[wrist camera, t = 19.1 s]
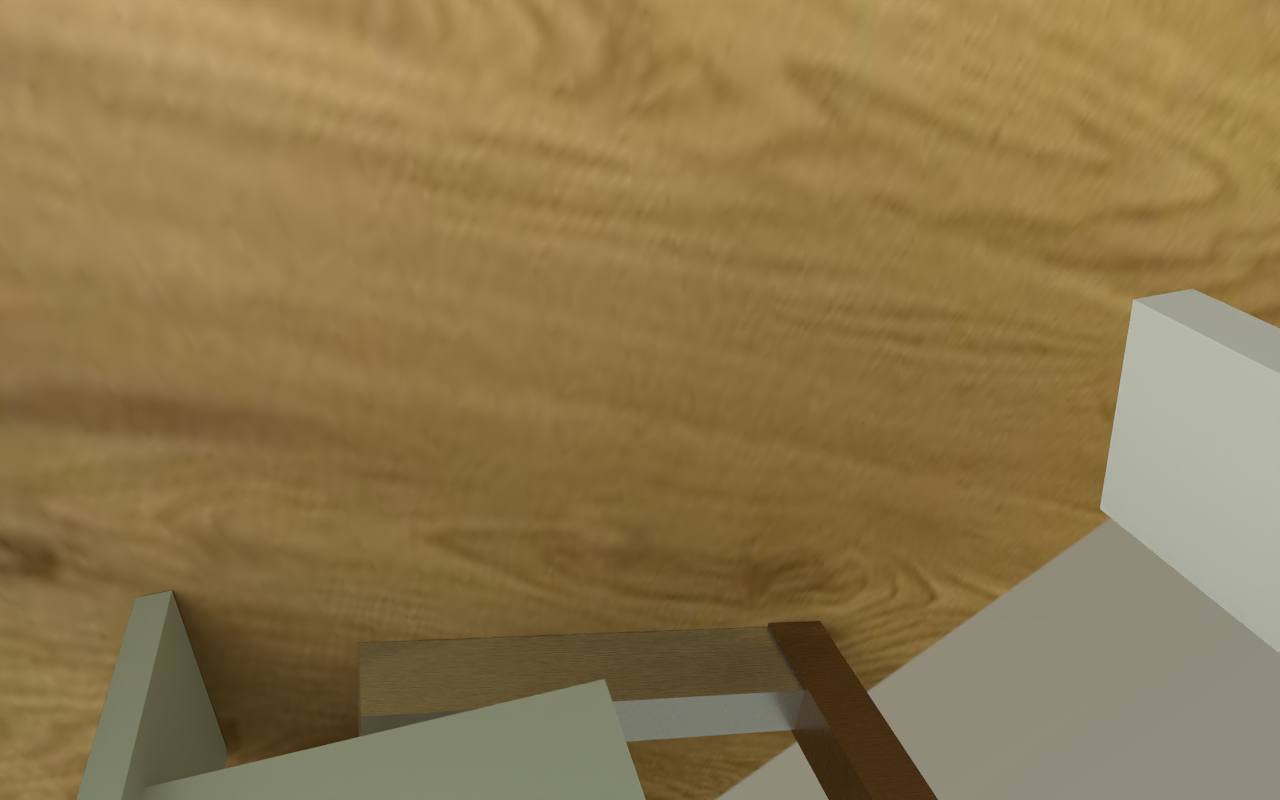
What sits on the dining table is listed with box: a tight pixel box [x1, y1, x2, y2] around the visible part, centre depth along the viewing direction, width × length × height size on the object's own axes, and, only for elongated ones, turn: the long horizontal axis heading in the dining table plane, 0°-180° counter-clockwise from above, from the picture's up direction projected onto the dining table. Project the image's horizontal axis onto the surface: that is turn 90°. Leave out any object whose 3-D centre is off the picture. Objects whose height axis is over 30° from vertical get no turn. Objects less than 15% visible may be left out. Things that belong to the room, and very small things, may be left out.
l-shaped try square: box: [357, 621, 938, 800], centre depth 46 cm, size 24×3×14 cm, turn 81°
